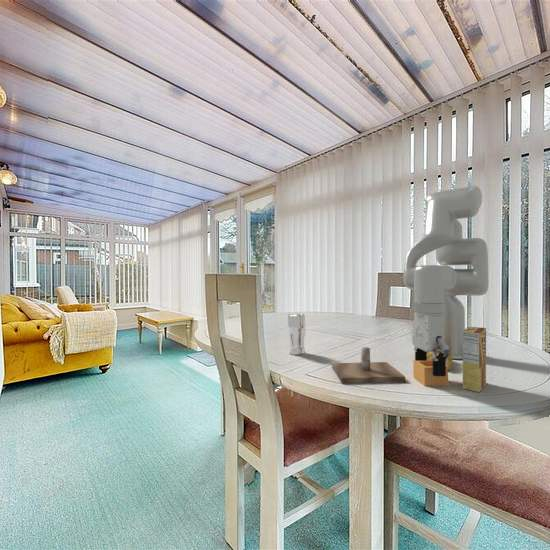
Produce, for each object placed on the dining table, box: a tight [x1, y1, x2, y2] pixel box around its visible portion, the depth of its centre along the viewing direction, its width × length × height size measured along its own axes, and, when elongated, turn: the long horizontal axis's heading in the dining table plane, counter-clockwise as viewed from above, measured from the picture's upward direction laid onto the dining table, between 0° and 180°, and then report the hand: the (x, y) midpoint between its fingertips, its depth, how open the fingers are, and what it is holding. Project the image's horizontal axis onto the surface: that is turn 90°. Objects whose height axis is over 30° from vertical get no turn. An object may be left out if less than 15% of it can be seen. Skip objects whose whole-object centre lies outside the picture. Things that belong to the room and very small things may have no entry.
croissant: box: [424, 351, 454, 371], centre depth 102 cm, size 21×10×8 cm, turn 176°
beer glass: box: [287, 313, 306, 356], centre depth 117 cm, size 7×7×15 cm
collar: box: [412, 360, 449, 387], centre depth 84 cm, size 6×6×5 cm
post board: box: [331, 346, 406, 384], centre depth 91 cm, size 18×14×8 cm
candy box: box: [462, 326, 487, 393], centre depth 81 cm, size 9×4×15 cm, turn 137°
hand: (429, 370), depth 84 cm, fingers open, 9 cm apart
